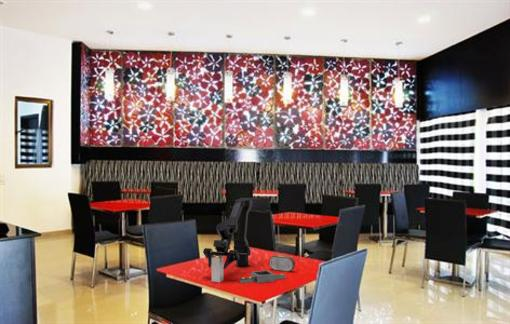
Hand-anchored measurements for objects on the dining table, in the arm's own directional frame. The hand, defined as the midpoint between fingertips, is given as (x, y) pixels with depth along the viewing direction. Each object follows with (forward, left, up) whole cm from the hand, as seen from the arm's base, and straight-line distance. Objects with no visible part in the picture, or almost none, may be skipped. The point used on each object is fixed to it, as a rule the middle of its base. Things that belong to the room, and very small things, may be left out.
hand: (216, 268), depth 225 cm
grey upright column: (-1, -1, -7) cm, 7 cm away
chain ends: (-22, +9, -7) cm, 25 cm away
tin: (-41, -3, -7) cm, 41 cm away
